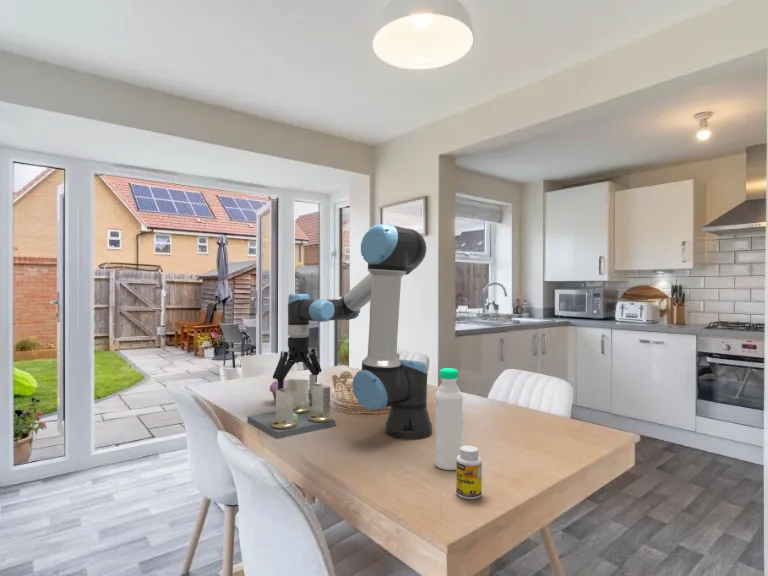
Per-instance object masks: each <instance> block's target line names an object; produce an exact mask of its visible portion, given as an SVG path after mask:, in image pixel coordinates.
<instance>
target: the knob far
mask: <svg viewBox="0 0 768 576" xmlns="http://www.w3.org/2000/svg"><path fill="white" fill-rule="evenodd" d="M287 380H288V384H287V390H289V391H292V392H294V395H293V413H295V414H300V413H305V412H308V411H309V410H310V406H309V399H308V397H309V379H301V378H300V379H299V378H289V379H287Z"/></svg>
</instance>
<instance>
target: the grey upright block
mask: <svg viewBox="0 0 768 576" xmlns="http://www.w3.org/2000/svg"><path fill="white" fill-rule="evenodd" d="M321 384H322V383H316V384H314V385H312V403H311V404H312V406H311V407H312V409H311V411H312V414H311V415H309V420H310V421H313V422H326V421H330V420H332V419H334V415H333V413H331V387H330V386H328V385H326V384H325V385H324V384H322V385H321Z"/></svg>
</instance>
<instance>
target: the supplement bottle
mask: <svg viewBox="0 0 768 576" xmlns="http://www.w3.org/2000/svg"><path fill="white" fill-rule="evenodd" d="M482 461H483V460H482V458H481V457H480V456H479V448H478V447H476V446H475V445H474V446H473V445H462V447H460V455H458V456H457V458H456V470H455V472H456V473H455V477H456V478H455V483H456V484H455V493H456V495H457V496H458V497H460V498H462V499H464V500H465V499H466V500H476V499H477V500H478V498H481V497H482V491H483V490H482V487H483V485H482V483H483V482H482V480H483V477H482V475H483V471H482V469H483V466H482V465H483V462H482Z"/></svg>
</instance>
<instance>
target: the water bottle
mask: <svg viewBox="0 0 768 576" xmlns="http://www.w3.org/2000/svg"><path fill="white" fill-rule="evenodd" d="M439 378H440V381H441V383H440V384H439V386H438V389H437V391H436V393H435V397H434V400H435V410H434V411H435V412H434V413H435V414H434V417H435V418H434V425H435V430H434V432H435V438H434V439H435V441H434V447H435V453H434V454H435V455H434V465H436V467H437V468H439V469H441V470H445V471H456V458H457V456H458V455H460V447H462V446H463V439H462V438H463V404H462V403H463V400H464V398H463V394H462V392H461V390H460V387H459V385H458V384H457V380H458V379H459V370H458V369H456V368H452V367H444V368H441V369H440V370H439Z"/></svg>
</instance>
